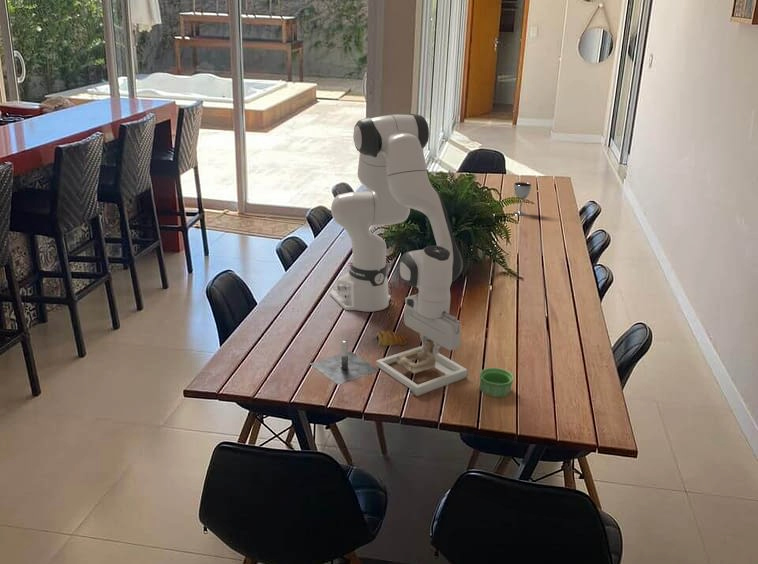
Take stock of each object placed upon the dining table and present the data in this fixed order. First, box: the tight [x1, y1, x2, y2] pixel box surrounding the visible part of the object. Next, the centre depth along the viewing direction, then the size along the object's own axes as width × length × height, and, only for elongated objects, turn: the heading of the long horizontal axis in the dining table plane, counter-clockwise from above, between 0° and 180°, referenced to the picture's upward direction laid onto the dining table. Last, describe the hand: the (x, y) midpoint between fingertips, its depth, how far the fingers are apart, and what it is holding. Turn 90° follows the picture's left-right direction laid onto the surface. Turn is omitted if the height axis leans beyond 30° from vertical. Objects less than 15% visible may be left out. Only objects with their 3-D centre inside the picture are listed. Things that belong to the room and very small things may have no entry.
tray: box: [375, 345, 468, 397], centre depth 197 cm, size 18×18×2 cm
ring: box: [396, 338, 436, 374], centre depth 195 cm, size 8×10×6 cm
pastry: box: [375, 330, 408, 347], centre depth 214 cm, size 9×7×4 cm
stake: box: [309, 339, 380, 386], centre depth 196 cm, size 14×14×9 cm
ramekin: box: [479, 367, 515, 398], centre depth 190 cm, size 9×9×4 cm
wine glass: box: [512, 181, 532, 217], centre depth 349 cm, size 8×8×15 cm
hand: (430, 351), depth 197 cm, fingers closed on ring
